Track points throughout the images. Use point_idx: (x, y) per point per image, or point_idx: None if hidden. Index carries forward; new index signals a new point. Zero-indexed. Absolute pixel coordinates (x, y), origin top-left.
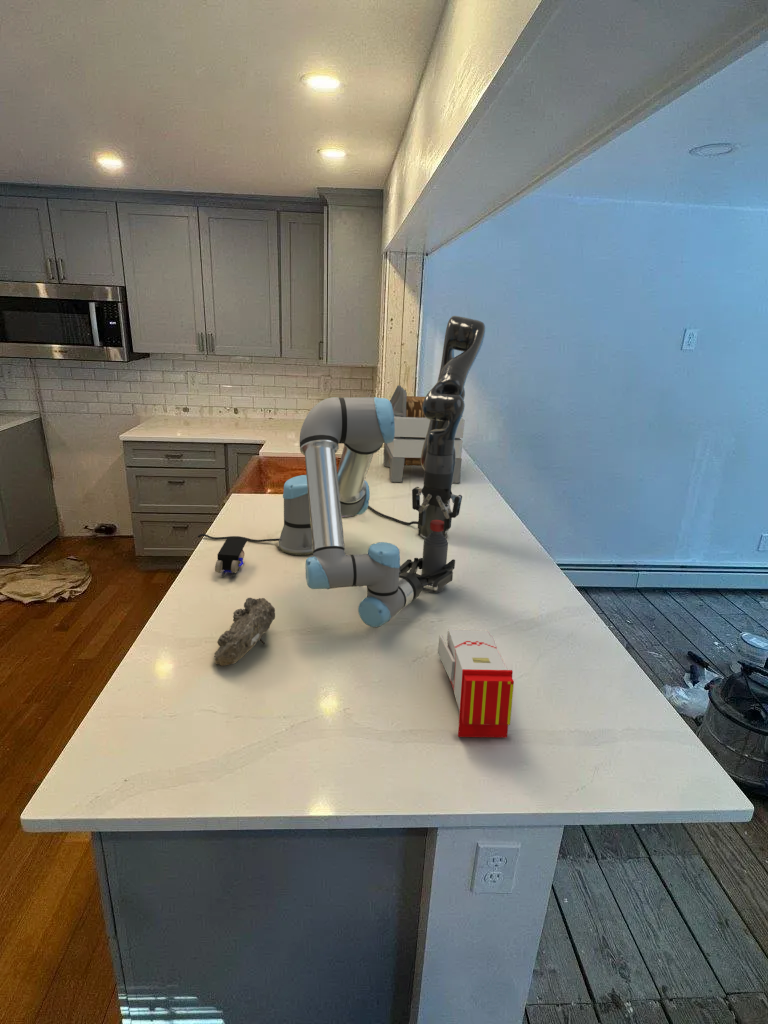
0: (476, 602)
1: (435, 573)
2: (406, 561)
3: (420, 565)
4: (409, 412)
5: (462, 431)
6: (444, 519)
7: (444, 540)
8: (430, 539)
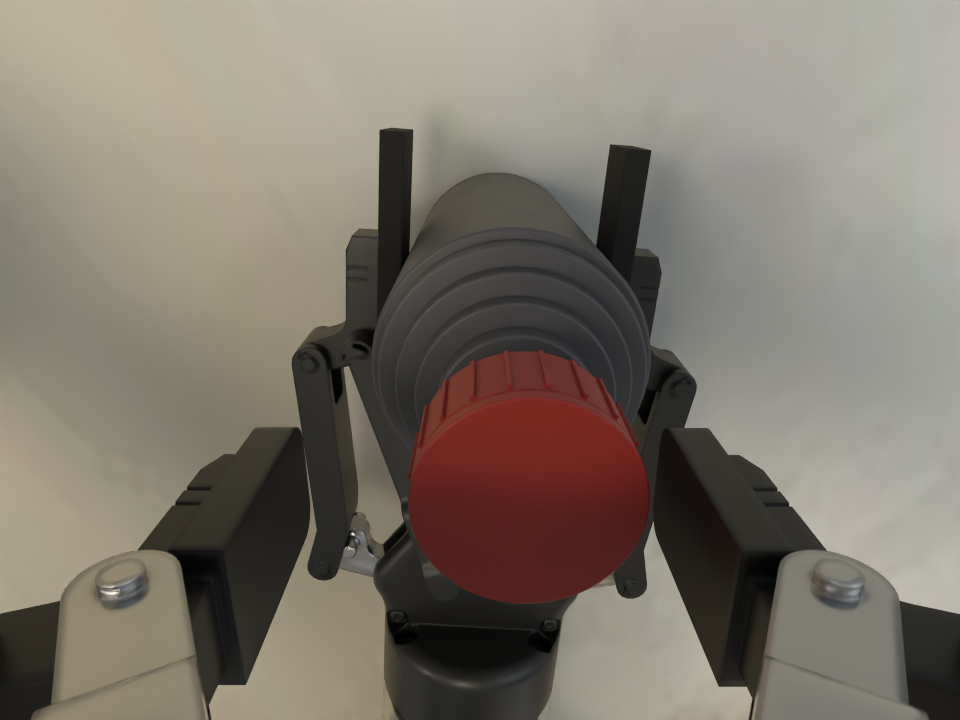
0: (800, 285)
1: None
2: (302, 395)
3: None
4: None
5: None
6: (712, 668)
7: (628, 404)
8: None
